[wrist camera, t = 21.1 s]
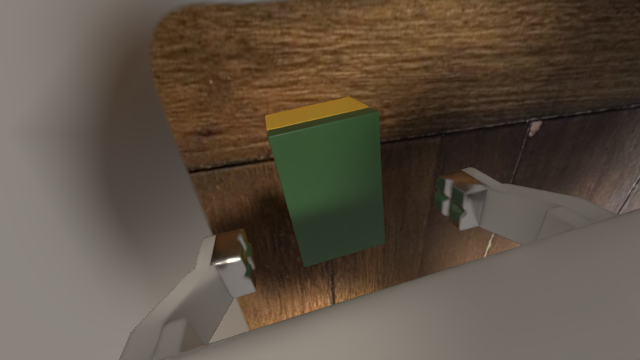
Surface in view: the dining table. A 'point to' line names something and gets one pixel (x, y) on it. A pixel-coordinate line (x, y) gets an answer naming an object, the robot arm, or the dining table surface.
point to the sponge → (330, 176)
